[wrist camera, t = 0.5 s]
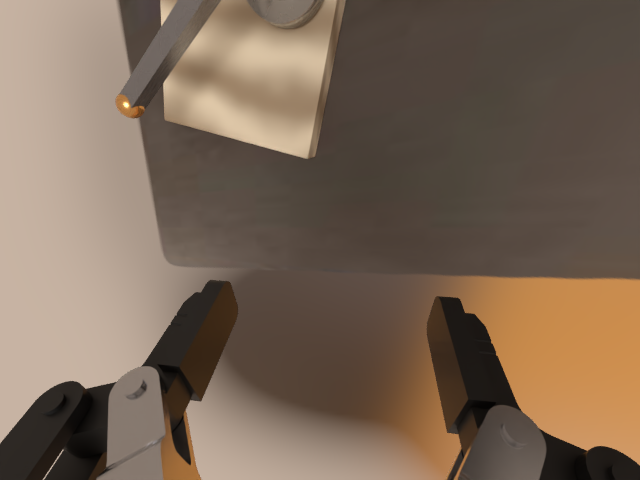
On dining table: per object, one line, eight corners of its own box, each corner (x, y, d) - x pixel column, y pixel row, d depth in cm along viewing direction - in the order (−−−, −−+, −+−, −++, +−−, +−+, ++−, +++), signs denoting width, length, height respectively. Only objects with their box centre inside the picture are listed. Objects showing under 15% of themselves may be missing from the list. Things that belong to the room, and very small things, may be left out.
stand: (178, -160, 28) (152, -192, 25) (374, -147, 24) (369, -183, 21) (181, 119, 39) (163, 119, 36) (315, 156, 35) (307, 159, 33)
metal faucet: (293, -107, 24) (234, -222, 16) (346, -20, 25) (316, -87, 17) (159, 87, 35) (81, 76, 26) (201, 142, 36) (139, 147, 28)
